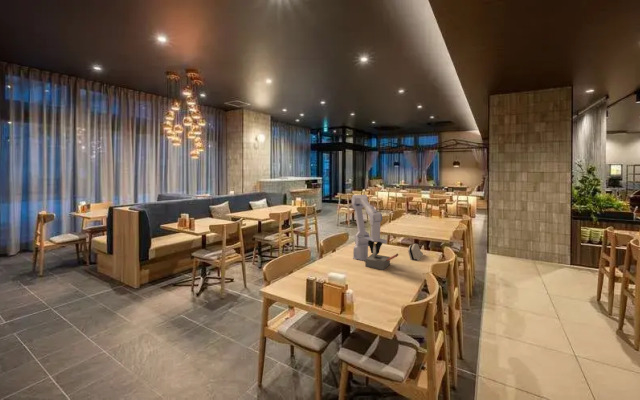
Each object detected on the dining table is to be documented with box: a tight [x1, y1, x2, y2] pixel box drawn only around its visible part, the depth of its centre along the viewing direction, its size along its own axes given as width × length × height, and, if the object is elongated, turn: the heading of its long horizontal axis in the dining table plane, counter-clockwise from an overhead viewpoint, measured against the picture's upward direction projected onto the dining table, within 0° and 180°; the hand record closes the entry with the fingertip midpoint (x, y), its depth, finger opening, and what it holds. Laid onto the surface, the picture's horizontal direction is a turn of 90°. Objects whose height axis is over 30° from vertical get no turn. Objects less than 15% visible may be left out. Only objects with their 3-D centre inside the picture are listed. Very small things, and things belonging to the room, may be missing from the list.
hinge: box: [407, 243, 424, 262], centre depth 214 cm, size 17×5×10 cm, turn 149°
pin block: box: [365, 254, 391, 271], centre depth 197 cm, size 12×12×5 cm
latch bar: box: [387, 253, 399, 261], centre depth 191 cm, size 7×4×1 cm
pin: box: [371, 242, 378, 257], centre depth 193 cm, size 3×3×8 cm
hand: (374, 253), depth 193 cm, fingers closed on pin, 3 cm apart
